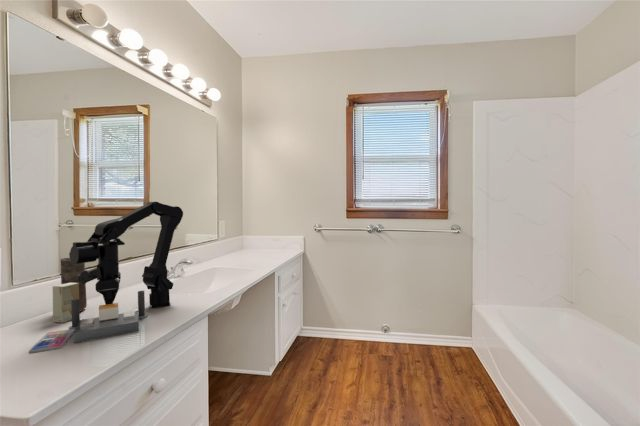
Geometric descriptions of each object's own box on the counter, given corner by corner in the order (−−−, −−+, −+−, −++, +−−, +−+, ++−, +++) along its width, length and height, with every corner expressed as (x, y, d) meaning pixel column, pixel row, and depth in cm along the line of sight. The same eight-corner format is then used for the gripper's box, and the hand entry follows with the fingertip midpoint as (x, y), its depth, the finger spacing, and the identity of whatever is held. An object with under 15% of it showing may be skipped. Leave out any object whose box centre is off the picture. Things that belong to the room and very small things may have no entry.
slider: (118, 315, 104) (118, 302, 104) (118, 317, 102) (117, 305, 102) (99, 318, 102) (99, 305, 102) (99, 320, 99) (98, 307, 99)
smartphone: (76, 328, 101) (61, 346, 87) (76, 331, 101) (61, 350, 87) (47, 331, 98) (26, 351, 84) (47, 335, 98) (26, 355, 84)
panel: (138, 319, 109) (137, 308, 109) (139, 331, 99) (138, 318, 99) (79, 329, 101) (79, 317, 101) (74, 343, 90) (73, 330, 90)
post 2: (147, 314, 114) (146, 289, 114) (147, 317, 111) (147, 291, 111) (135, 316, 112) (134, 291, 112) (135, 319, 109) (135, 293, 109)
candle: (65, 309, 122) (64, 257, 121) (89, 307, 125) (87, 255, 124) (58, 315, 115) (56, 260, 114) (83, 312, 118) (81, 258, 117)
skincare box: (62, 323, 107) (61, 286, 107) (52, 322, 108) (51, 286, 108) (80, 316, 113) (79, 282, 113) (70, 316, 114) (69, 281, 114)
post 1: (83, 325, 105) (82, 297, 105) (82, 328, 102) (81, 300, 102) (69, 327, 103) (69, 299, 103) (68, 331, 100) (67, 302, 100)
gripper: (82, 258, 113) (84, 302, 113) (74, 266, 97) (76, 317, 97) (120, 255, 118) (121, 297, 119) (118, 262, 102) (119, 311, 103)
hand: (109, 305), depth 109 cm, fingers open, 9 cm apart
